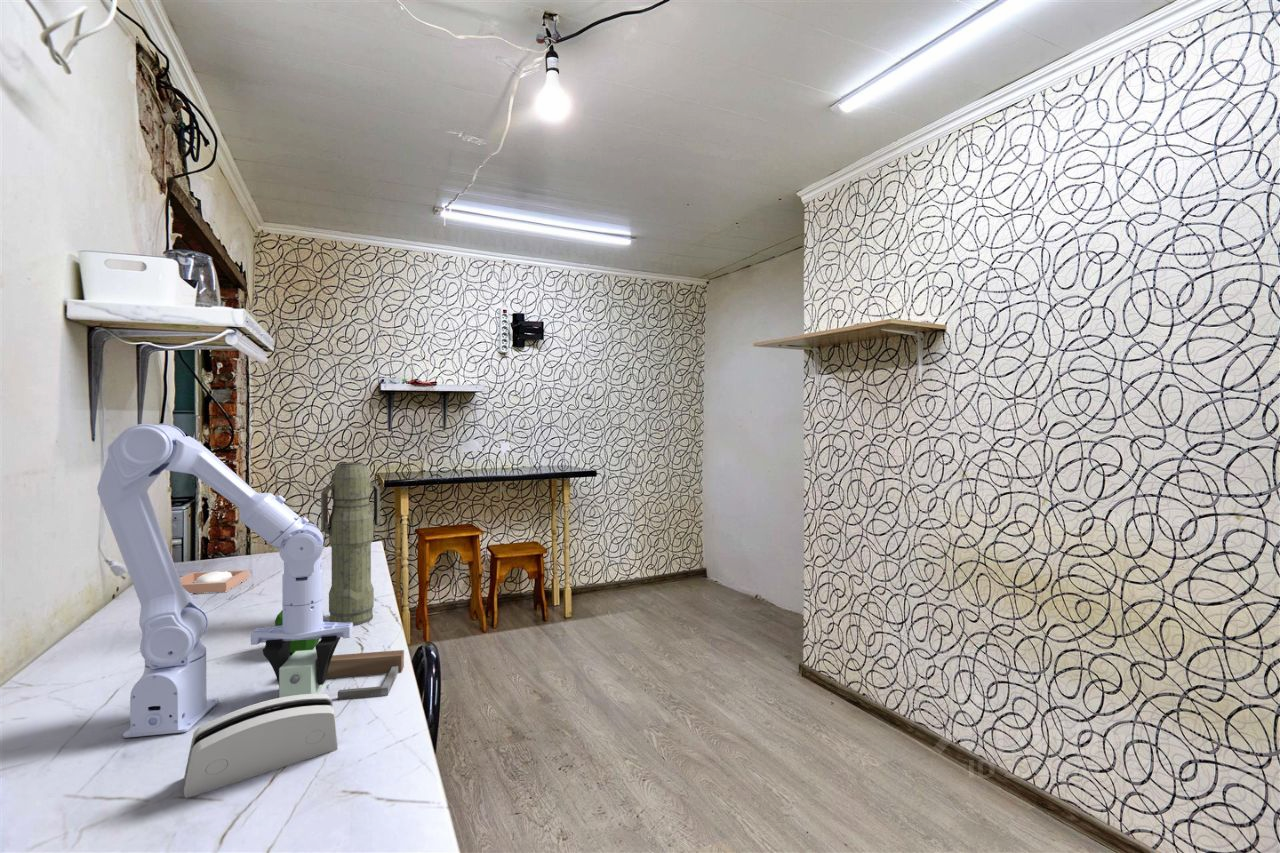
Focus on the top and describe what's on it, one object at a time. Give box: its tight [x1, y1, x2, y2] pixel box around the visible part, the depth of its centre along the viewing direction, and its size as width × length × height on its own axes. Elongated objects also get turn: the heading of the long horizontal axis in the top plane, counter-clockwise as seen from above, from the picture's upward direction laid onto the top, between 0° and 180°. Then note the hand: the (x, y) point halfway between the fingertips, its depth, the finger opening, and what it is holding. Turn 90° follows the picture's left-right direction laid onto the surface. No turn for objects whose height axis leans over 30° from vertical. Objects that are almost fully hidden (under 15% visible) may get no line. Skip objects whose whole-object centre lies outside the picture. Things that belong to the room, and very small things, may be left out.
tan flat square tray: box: [179, 569, 250, 593], centre depth 154 cm, size 13×14×2 cm
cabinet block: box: [278, 649, 326, 698], centre depth 94 cm, size 8×4×6 cm, turn 12°
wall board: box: [327, 649, 405, 701], centre depth 98 cm, size 11×18×3 cm, turn 102°
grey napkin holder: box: [182, 693, 339, 799], centre depth 74 cm, size 17×5×10 cm, turn 129°
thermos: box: [320, 461, 381, 627], centre depth 129 cm, size 9×12×35 cm
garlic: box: [195, 570, 233, 583], centre depth 155 cm, size 8×7×4 cm
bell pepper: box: [274, 609, 320, 655], centre depth 112 cm, size 8×8×10 cm
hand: (303, 683), depth 94 cm, fingers open, 5 cm apart
